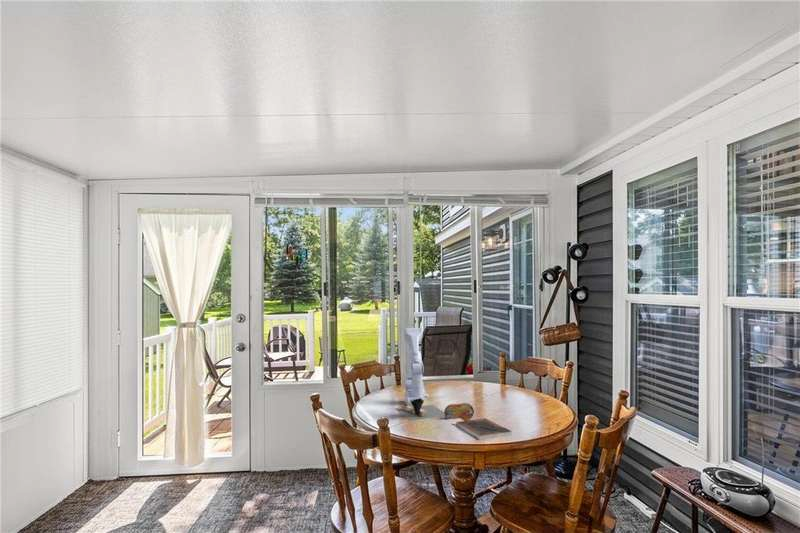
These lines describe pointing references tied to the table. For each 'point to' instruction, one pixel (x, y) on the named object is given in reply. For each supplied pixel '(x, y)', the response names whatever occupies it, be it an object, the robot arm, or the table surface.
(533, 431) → the table surface
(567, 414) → the table surface
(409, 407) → the link
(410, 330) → the robot arm
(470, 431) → the picture frame
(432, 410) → the board
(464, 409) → the tin
